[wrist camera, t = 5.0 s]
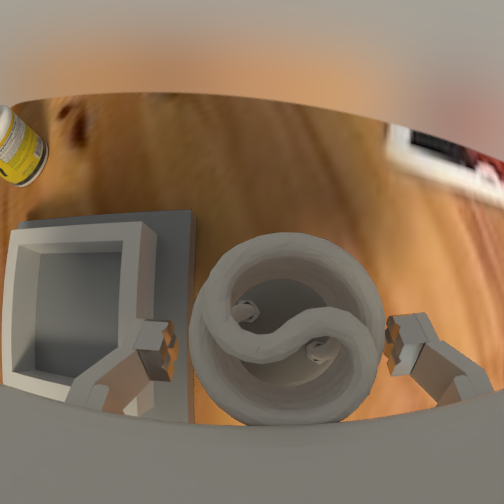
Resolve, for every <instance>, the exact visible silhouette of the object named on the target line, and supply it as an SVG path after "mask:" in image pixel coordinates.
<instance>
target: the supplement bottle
mask: <svg viewBox="0 0 504 504" xmlns="http://www.w3.org/2000/svg"><path fill="white" fill-rule="evenodd" d="M47 157H48V147H47V144H46V143H45V141H44V140H43V139H42V138H40V137H39V136H38V135H37V134H36V133H35V132H34V131H33V130H32V129H31V128H30V127H29V126H28V125H27V124H26V123H24V122H23V121H22V120H21V119H20V118H19V117H18V116H17V115H16V114H15V113H14V112H13V111H12V110H11V109H10V108H9V107H7V106H4V105H0V176H1V177H2V178H4V179H5V180H7V181H8V182H10V183H11V184H13V185H15V186H17V187H24V186H27V185H29V184H30V183H32V182H33V181H34V180H35V179H36V178H37V177H38V176H39V174H40V173H41V171H42V170H43V168H44V166H45V164H46V161H47Z"/></svg>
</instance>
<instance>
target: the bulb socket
mask: <svg viewBox="0 0 504 504" xmlns="http://www.w3.org/2000/svg"><path fill="white" fill-rule="evenodd" d="M196 223H197V218H196V216H195V214H194V213H193V211H192V210H191V209H190V210H168V211H149V212H132V213H117V214H102V215H89V216H76V217H64V218H53V219H42V220H32V221H22V222H19V225H18V230H11V236H10V242H9V249H8V256H7V264H6V272H5V282H4V294H3V311H2V369H3V384H5V385H8V386H10V387H12V388H15V389H18V390H21V391H24V392H27V393H31V394H34V395H37V396H41V397H45V398H48V399H52V400H56V401H60V402H64V401H65V399H66V397H67V395H68V392H69V390H70V388H71V386H72V384H73V381H74V379H75V378H77V377H78V376H79V375H81V374H82V373H83V372H85V371H86V370H87V369H89V368H90V367H91V366H93V365H94V364H96V363H97V362H98V361H100V360H101V359H102V358H104V357H105V356H106V355H108V354H109V353H110V352H112V351H113V350H115V349H116V348H120V347H121V345H122V342H123V340H124V338H125V335H126V333H127V331H128V329H129V326H130V324H131V322H132V320H133V319H134V318H140V319H158V320H171V321H172V322H173V325H174V330H173V333H174V334H175V335H176V336H177V339H178V356H177V359H176V360H175V361H174V362H173V366H174V372H173V376H172V380H171V382H165V381H150V383H149V384H148V385H147V386H146V387H145V388H144V389H143V390H142V391H141V392H140V393H139V394H138V395H137V396H136V397H135V398H134V399H133V400H132V401H131V402H130V403H129V404H128V405H127V406H126V407H125V408H124V409H123V411H124V413H125V414H126V415H128V416H134V417H141V418H148V419H156V420H164V421H173V422H183V423H195V415H194V367H193V364H192V360H191V355H190V350H189V325H190V320H191V315H192V311H193V306H194V273H195V245H196Z"/></svg>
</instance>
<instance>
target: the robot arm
mask: <svg viewBox="0 0 504 504" xmlns="http://www.w3.org/2000/svg"><path fill="white" fill-rule="evenodd" d="M386 324H387V327H388V328H387V329H386V330H385V344H384V349H383V353H384V355H385V356H386V357H387V358H389V359H388V362H387V366H388V369H389V372H390V375H391V377H392V376H401V375H410V374H411V375H410V376H411V377H412V378H413V379H414V380H415V381H416V382H417V383H418V384H419V385H420V386H421V387H422V388H423V389H424V390H425V391H426V392H427V393H428V394H429V395H430V396H431V397H432V398H433V399H434V400H435V401H436V402H437V403H438V404H437V405H436V407H434V408H430V409H425V410H420V411H415V412H409V413H404V414H398V415H392V416H386V417H379V418H372V419H364V420H356V421H347V422H337V423H325V424H311V425H289V426H232V425H210V424H195V423H183V422H173V421H164V420H156V419H148V418H141V417H134V416H128V415H126V414H125V413H124V411H123V409H124V408H125V407H126V406H127V405H128V404H129V403H130V402H131V401H132V400H133V399H134V398H135V397H136V396H137V395H138V394H139V393H140V392H141V391H142V390H143V389H144V388H145V387H146V386H147V385H148V384H149V383H150V381H165V382H171V380H172V376H173V372H174V366H173V362H174V361H175V360H176V359H177V356H178V339H177V336H176V335H175V334H174V333H173V330H174V325H173V322H172V321H171V320H158V319H140V318H134V319H133V320H132V322H131V324H130V326H129V329H128V331H127V333H126V335H125V338H124V340H123V342H122V345H121V347H120V348H116V349H115V350H113V351H112V352H110V353H109V354H108V355H106V356H105V357H104V358H102V359H101V360H100V361H98V362H97V363H96V364H94V365H93V366H91V367H90V368H89V369H87V370H86V371H85V372H83V373H82V374H81V375H79V376H78V377H77V378H75V379H74V381H73V384H72V386H71V388H70V390H69V392H68V395H67V397H66V399H65V401H64V402H60V401H56V400H52V399H48V398H45V397H41V396H37V395H34V394H31V393H27V392H24V391H21V390H18V389H15V388H12V387H9V386H6V385H3V384H0V504H504V389H501V390H498V391H494V389H493V387H492V385H491V383H490V381H489V378H488V376H487V374H486V372H485V370H484V369H483V368H481V367H480V366H479V365H477V364H476V363H474V362H473V361H472V360H470V359H469V358H467V357H466V356H465V355H463V354H462V353H460V352H459V351H457V350H456V349H455V348H453V347H452V346H450V345H449V344H447V343H446V342H444V341H440V340H439V338H438V336H437V334H436V332H435V330H434V328H433V326H432V324H431V322H430V320H429V318H428V316H427V314H426V313H424V312H422V313H413V314H403V315H392V316H389V317H388V319H387V323H386Z"/></svg>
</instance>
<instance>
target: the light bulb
mask: <svg viewBox="0 0 504 504" xmlns="http://www.w3.org/2000/svg"><path fill="white" fill-rule="evenodd" d="M384 344H385V314H384V309H383V305H382V301H381V298H380V296H379V293H378V291H377V288H376V285H375V284H374V282H373V281H372V279H371V278H370V276H369V275H368V273H367V272H366V270H365V268H364V267H363V266H362V265H361V264H360V263H359V262H358V261H357V260H356V259H355V258H354V257H353V256H352V255H350V254H349V253H348V252H346V251H345V250H343V249H342V248H340V247H339V246H337V245H335V244H333V243H332V242H330V241H328V240H326V239H322V238H319V237H315V236H312V235H308V234H304V233H290V232H278V233H272V234H266V235H260V236H257V237H255V238H253V239H250V240H248V241H245V242H243V243H241V244H238V245H236V246H235V247H233V248H232V249H230V250H229V251H228V252H226V253H225V254H223V256H222V257H221V258H220V260H219V261H218V262H217V264H216V265H215V266H214V268H213V269H212V270H211V272H210V275H209V278H208V279H207V280H206V282H205V283H204V285H203V286H202V287H201V289H200V291H199V293H198V296H197V298H196V300H195V303H194V306H193V311H192V315H191V320H190V325H189V350H190V355H191V360H192V364H193V367H194V369H195V372H196V374H197V377H198V379H199V381H200V382H201V384H202V386H203V387H204V389H205V391H206V392H207V394H208V396H209V397H210V398H211V399H212V400H213V401H214V402H215V403H216V405H217V406H219V407H220V408H221V409H222V410H223V411H225V412H226V413H227V414H229V415H230V416H231V417H232V418H234V419H235V420H237V421H239V422H241V423H243V424H245V425H247V426H289V425H311V424H325V423H337V422H340V421H342V420H344V419H345V418H347V417H348V416H349V415H350V414H351V413H353V412H354V411H355V410H356V409H357V408H358V407H359V406H360V404H361V403H362V402H363V401H364V400H365V398H366V397H367V396H368V395H369V393H370V391H371V388H372V386H373V383H374V381H375V378H376V374H377V367H378V365H379V363H380V360H381V356H382V353H383V349H384Z"/></svg>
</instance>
